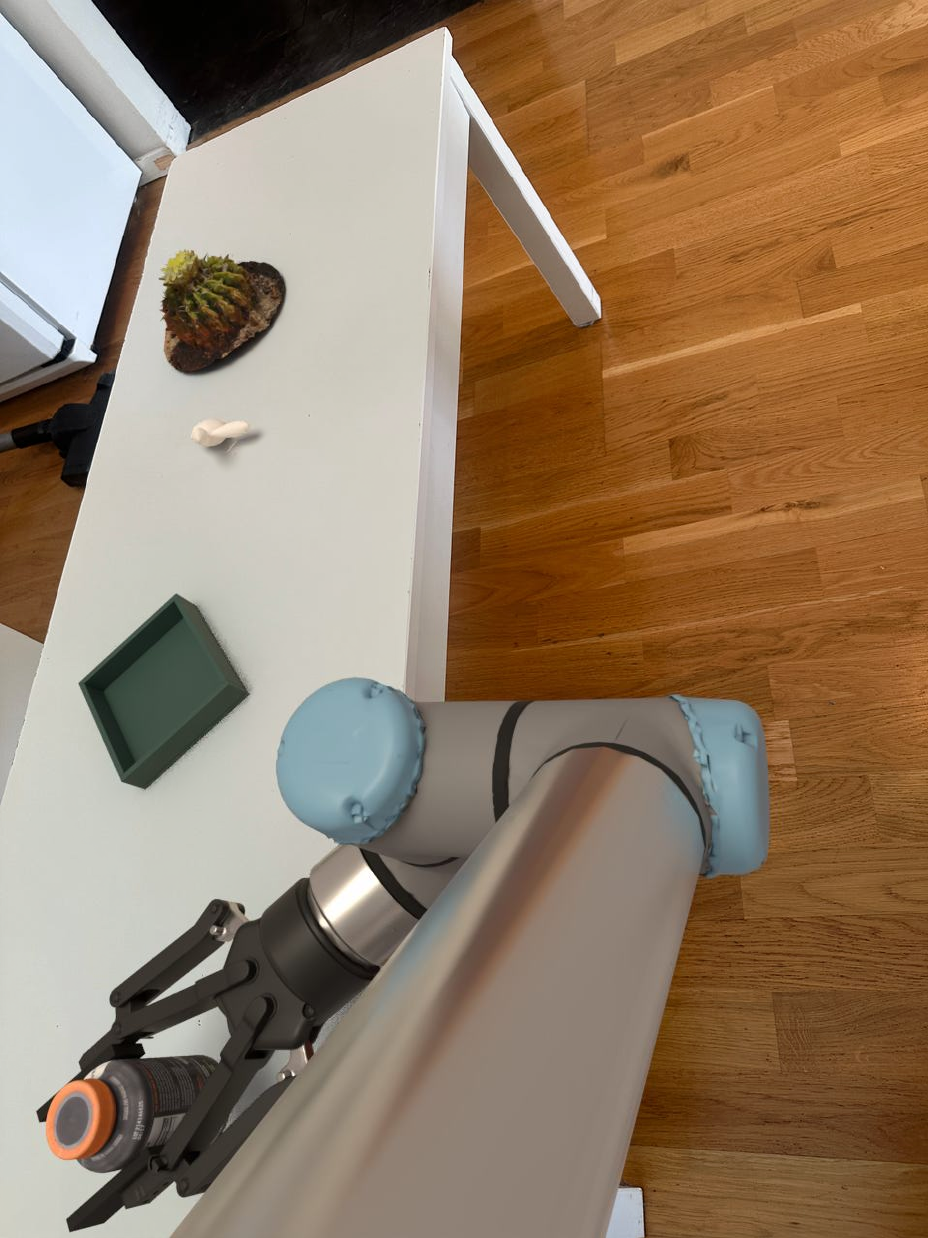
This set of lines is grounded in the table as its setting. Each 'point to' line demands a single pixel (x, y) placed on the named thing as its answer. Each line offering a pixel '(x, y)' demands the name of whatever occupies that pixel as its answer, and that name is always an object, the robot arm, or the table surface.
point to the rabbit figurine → (217, 431)
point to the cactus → (215, 306)
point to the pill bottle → (124, 1109)
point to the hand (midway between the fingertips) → (69, 1166)
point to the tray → (161, 691)
